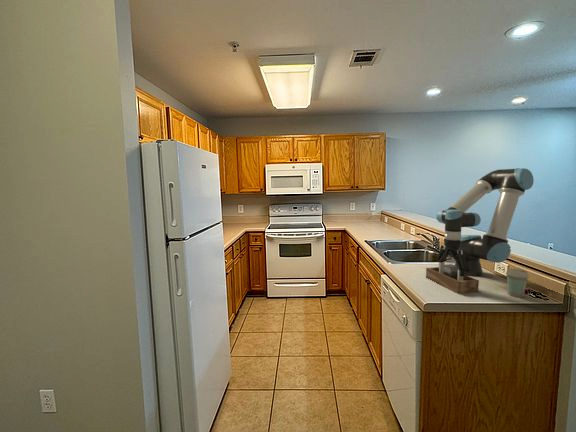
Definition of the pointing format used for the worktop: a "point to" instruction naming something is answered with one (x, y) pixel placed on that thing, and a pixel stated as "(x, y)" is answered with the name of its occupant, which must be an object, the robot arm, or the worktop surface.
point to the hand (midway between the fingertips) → (450, 277)
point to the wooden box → (453, 281)
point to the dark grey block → (451, 271)
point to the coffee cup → (516, 282)
